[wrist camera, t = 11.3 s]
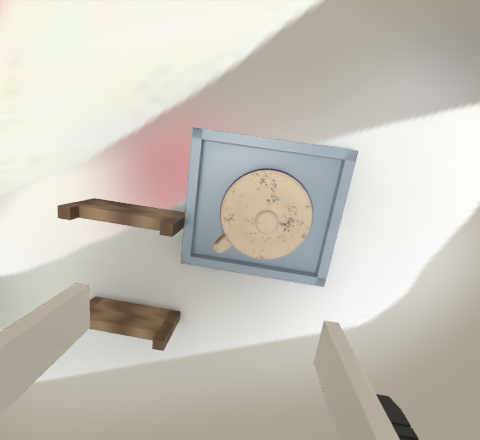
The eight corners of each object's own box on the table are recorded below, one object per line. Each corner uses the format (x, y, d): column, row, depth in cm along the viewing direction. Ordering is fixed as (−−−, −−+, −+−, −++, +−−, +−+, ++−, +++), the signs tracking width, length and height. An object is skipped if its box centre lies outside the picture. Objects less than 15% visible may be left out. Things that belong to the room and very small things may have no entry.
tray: (185, 257, 35) (180, 262, 33) (197, 129, 31) (193, 127, 29) (320, 280, 34) (323, 286, 32) (351, 151, 30) (358, 150, 28)
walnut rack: (94, 304, 38) (62, 332, 32) (94, 198, 34) (57, 205, 28) (179, 319, 37) (163, 350, 31) (189, 213, 33) (173, 224, 27)
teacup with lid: (270, 152, 30) (276, 144, 18) (312, 207, 31) (343, 232, 20) (200, 210, 32) (168, 235, 21) (242, 259, 33) (234, 308, 22)
